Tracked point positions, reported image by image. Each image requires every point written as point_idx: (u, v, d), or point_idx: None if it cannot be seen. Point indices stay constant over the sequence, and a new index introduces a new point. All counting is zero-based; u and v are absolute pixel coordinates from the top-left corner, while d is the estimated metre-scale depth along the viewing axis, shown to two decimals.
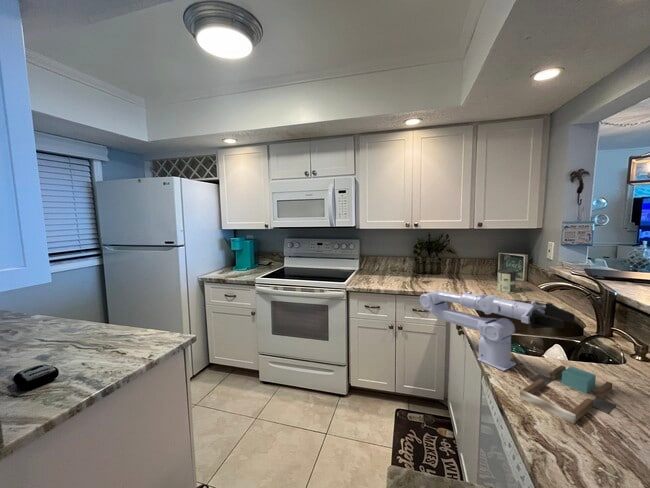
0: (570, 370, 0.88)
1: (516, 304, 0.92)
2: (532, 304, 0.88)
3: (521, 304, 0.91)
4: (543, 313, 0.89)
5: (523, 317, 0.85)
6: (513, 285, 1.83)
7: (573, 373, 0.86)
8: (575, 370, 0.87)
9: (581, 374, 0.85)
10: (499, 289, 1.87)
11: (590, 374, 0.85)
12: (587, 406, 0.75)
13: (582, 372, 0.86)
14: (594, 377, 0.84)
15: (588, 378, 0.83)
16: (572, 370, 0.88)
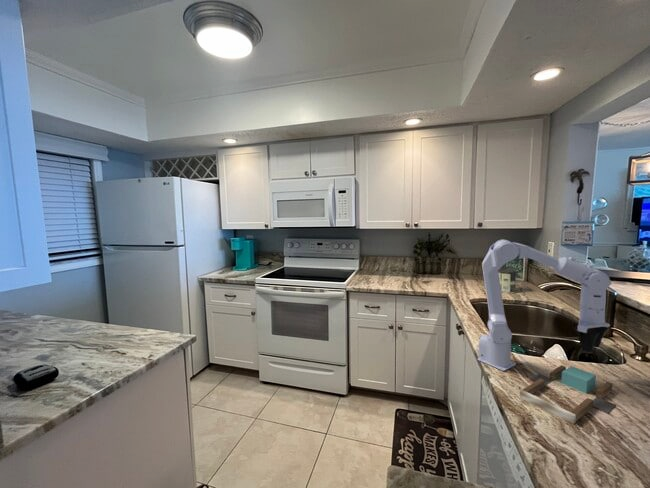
0: (570, 370, 0.88)
1: (600, 311, 0.85)
2: (604, 326, 0.85)
3: (601, 315, 0.85)
4: None
5: (584, 328, 0.84)
6: (513, 285, 1.83)
7: (573, 373, 0.86)
8: (575, 370, 0.87)
9: (581, 374, 0.85)
10: None
11: (590, 374, 0.85)
12: (587, 406, 0.75)
13: (582, 372, 0.86)
14: (595, 377, 0.84)
15: (587, 378, 0.83)
16: (572, 370, 0.88)
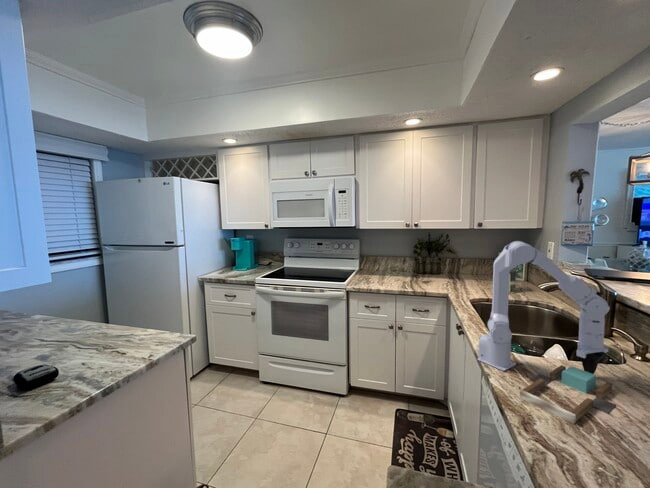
0: (570, 370, 0.88)
1: (599, 336, 0.86)
2: (603, 351, 0.86)
3: (600, 340, 0.86)
4: None
5: (583, 354, 0.85)
6: (513, 285, 1.83)
7: (573, 373, 0.86)
8: (575, 370, 0.87)
9: (581, 374, 0.85)
10: None
11: (590, 374, 0.85)
12: (587, 406, 0.75)
13: (582, 372, 0.86)
14: (595, 378, 0.84)
15: (587, 378, 0.83)
16: (572, 370, 0.88)
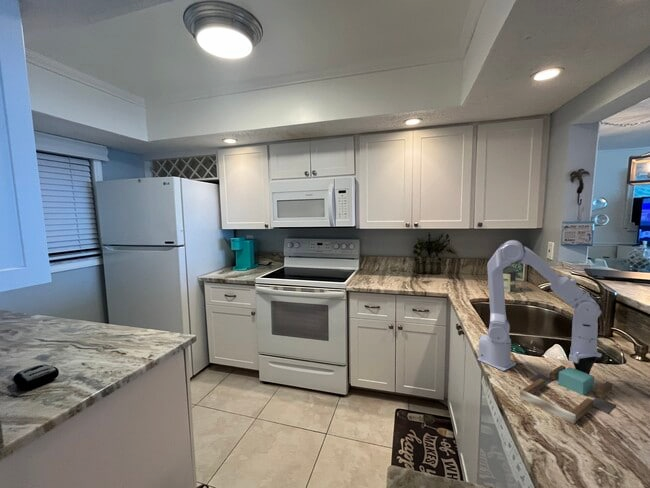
0: (567, 371, 0.87)
1: (592, 341, 0.83)
2: (596, 356, 0.83)
3: (593, 345, 0.84)
4: None
5: (575, 359, 0.83)
6: (513, 285, 1.83)
7: (570, 374, 0.85)
8: (573, 371, 0.87)
9: (579, 375, 0.85)
10: None
11: (588, 375, 0.84)
12: (587, 406, 0.75)
13: (579, 373, 0.85)
14: (592, 379, 0.84)
15: (584, 379, 0.82)
16: (570, 371, 0.87)
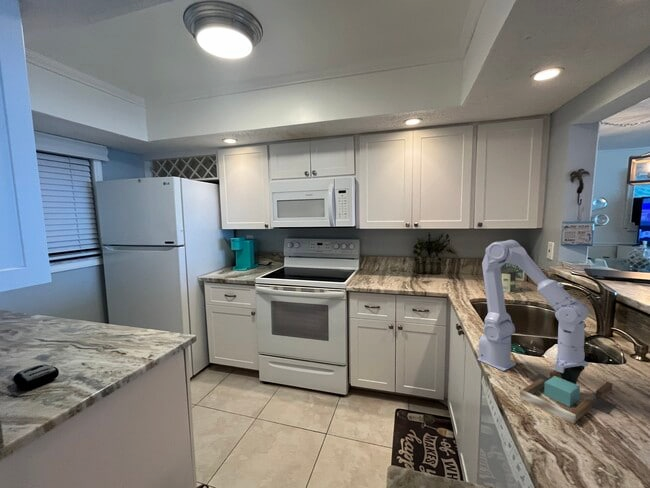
0: (553, 380, 0.82)
1: (578, 349, 0.79)
2: (583, 365, 0.79)
3: (580, 353, 0.79)
4: None
5: (561, 368, 0.78)
6: (513, 285, 1.83)
7: (556, 384, 0.81)
8: (558, 380, 0.82)
9: (565, 385, 0.80)
10: None
11: (574, 385, 0.80)
12: (587, 406, 0.75)
13: (565, 383, 0.81)
14: (578, 389, 0.79)
15: (571, 389, 0.78)
16: (555, 380, 0.82)
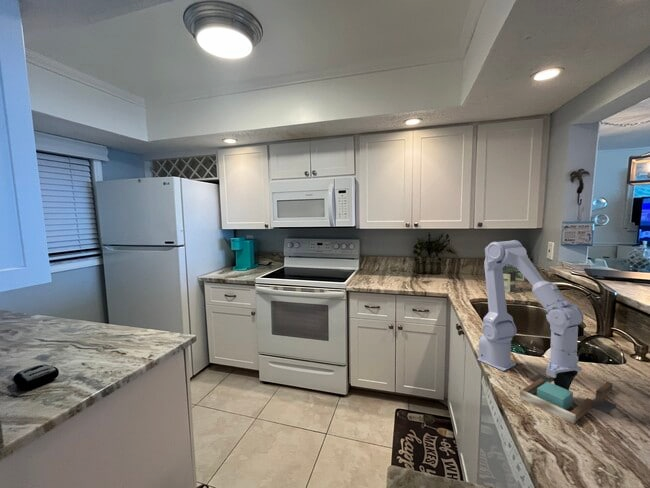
0: (546, 386, 0.80)
1: (571, 353, 0.77)
2: (575, 370, 0.77)
3: (573, 358, 0.77)
4: None
5: (553, 373, 0.76)
6: (513, 285, 1.83)
7: (549, 390, 0.78)
8: (551, 386, 0.80)
9: (558, 391, 0.78)
10: None
11: (567, 391, 0.78)
12: (587, 406, 0.75)
13: (558, 389, 0.79)
14: (572, 395, 0.77)
15: (564, 396, 0.76)
16: (548, 386, 0.80)
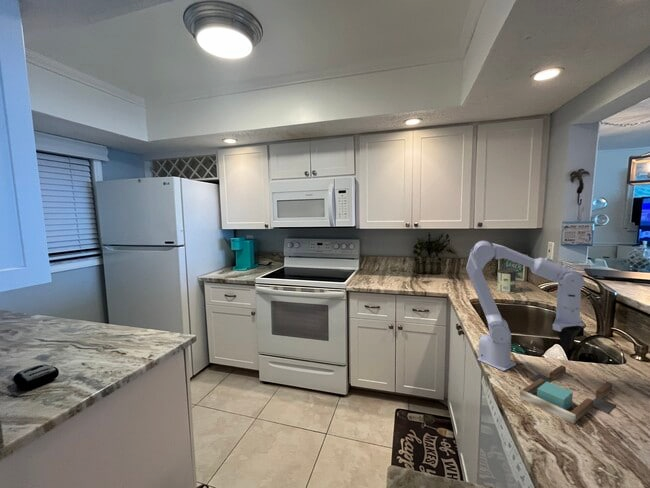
0: (545, 386, 0.80)
1: (575, 310, 0.87)
2: (579, 325, 0.87)
3: (576, 314, 0.87)
4: None
5: (558, 327, 0.86)
6: (513, 285, 1.83)
7: (549, 390, 0.78)
8: (551, 386, 0.80)
9: (558, 391, 0.78)
10: (499, 289, 1.87)
11: (567, 391, 0.78)
12: (587, 406, 0.75)
13: (558, 389, 0.79)
14: (571, 395, 0.77)
15: (564, 396, 0.76)
16: (548, 386, 0.80)
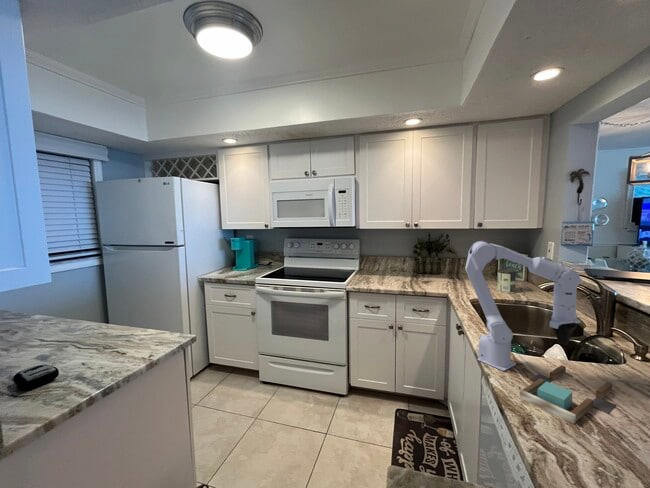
0: (545, 387, 0.80)
1: (571, 308, 0.89)
2: (575, 322, 0.89)
3: (572, 312, 0.89)
4: None
5: (555, 324, 0.88)
6: (513, 285, 1.83)
7: (549, 390, 0.78)
8: (551, 386, 0.80)
9: (558, 391, 0.78)
10: (499, 289, 1.87)
11: (566, 391, 0.78)
12: (587, 406, 0.75)
13: (558, 389, 0.79)
14: (571, 394, 0.77)
15: (564, 396, 0.76)
16: (548, 386, 0.80)
